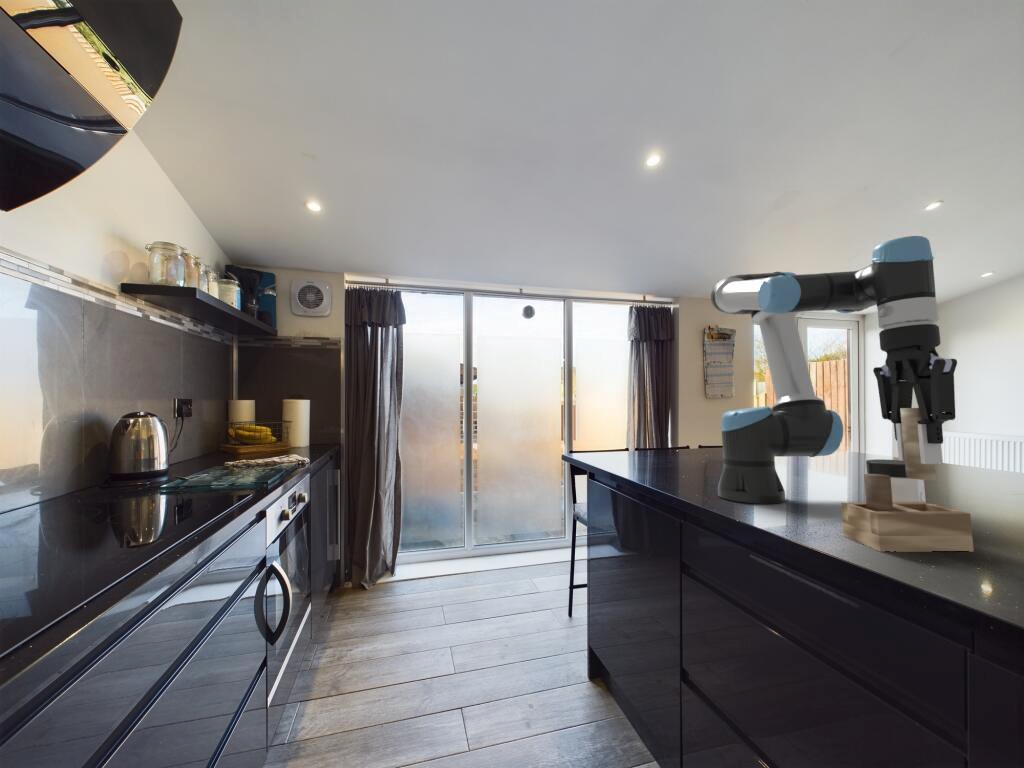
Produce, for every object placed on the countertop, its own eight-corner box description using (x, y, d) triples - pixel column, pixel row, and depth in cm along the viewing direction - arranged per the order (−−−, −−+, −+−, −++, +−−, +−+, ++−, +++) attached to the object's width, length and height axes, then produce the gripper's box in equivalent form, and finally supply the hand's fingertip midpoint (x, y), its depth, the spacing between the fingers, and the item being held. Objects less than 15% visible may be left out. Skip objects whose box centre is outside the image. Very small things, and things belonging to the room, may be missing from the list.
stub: (862, 525, 71) (858, 473, 72) (883, 525, 71) (879, 473, 71) (878, 531, 68) (874, 477, 68) (900, 531, 67) (896, 476, 68)
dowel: (900, 476, 71) (894, 408, 72) (922, 476, 71) (916, 407, 72) (919, 480, 67) (912, 408, 68) (942, 479, 67) (935, 407, 68)
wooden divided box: (843, 536, 73) (840, 502, 74) (926, 536, 72) (923, 502, 73) (880, 551, 65) (877, 513, 66) (973, 551, 64) (970, 513, 65)
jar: (919, 531, 75) (914, 466, 76) (863, 521, 82) (859, 461, 83) (932, 522, 80) (926, 461, 81) (878, 514, 87) (874, 458, 88)
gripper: (849, 336, 79) (859, 456, 78) (929, 316, 63) (944, 469, 61) (890, 335, 79) (900, 456, 77) (981, 314, 62) (998, 468, 61)
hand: (919, 461), depth 69 cm, fingers closed on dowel, 3 cm apart
